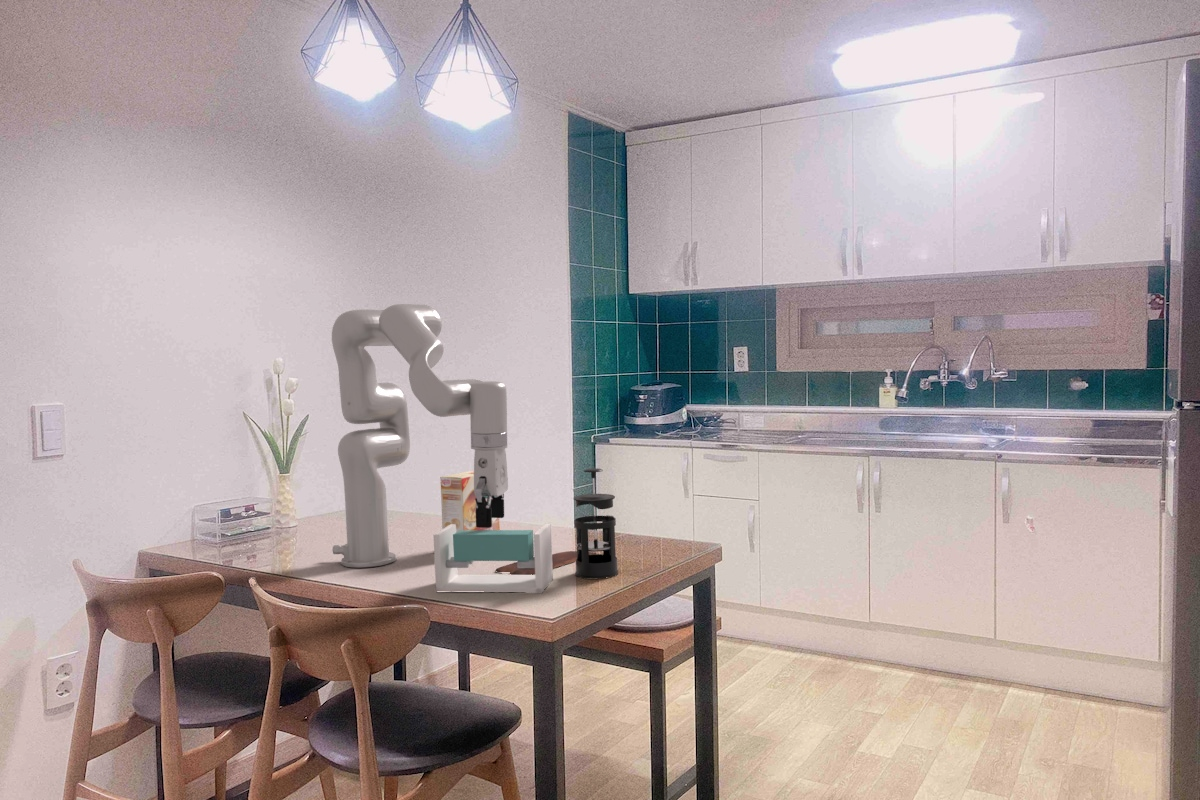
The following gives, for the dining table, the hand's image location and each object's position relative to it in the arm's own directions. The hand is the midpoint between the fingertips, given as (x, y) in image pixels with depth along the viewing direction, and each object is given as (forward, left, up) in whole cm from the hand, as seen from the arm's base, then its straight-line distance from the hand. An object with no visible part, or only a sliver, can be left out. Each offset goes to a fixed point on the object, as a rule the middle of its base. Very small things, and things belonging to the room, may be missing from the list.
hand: (490, 522), depth 188 cm
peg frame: (+1, 0, -13) cm, 13 cm away
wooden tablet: (+8, +20, -14) cm, 26 cm away
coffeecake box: (-14, +33, -14) cm, 38 cm away
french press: (+21, +11, -14) cm, 27 cm away
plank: (+1, 0, -8) cm, 8 cm away
